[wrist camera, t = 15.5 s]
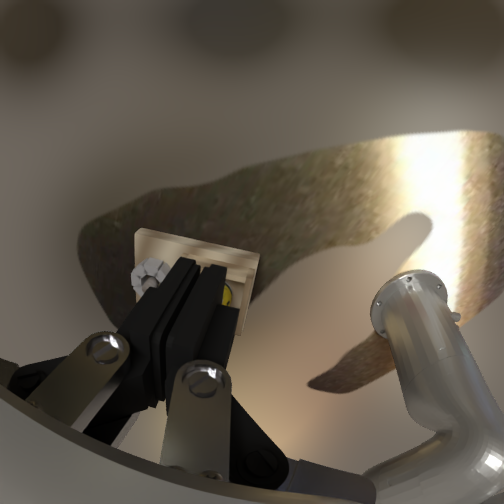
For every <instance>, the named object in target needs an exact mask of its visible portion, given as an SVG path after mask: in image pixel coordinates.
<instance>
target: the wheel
mask: <svg viewBox="0 0 504 504" xmlns="http://www.w3.org/2000/svg"><path fill="white" fill-rule="evenodd" d="M170 270H171V268H170V267H169V265H168V264H167V263H164V264H163V260H159V259H155V258H151V257H150V258H149V259H148V258H146V259H145V260H144V261H142V262H141V263H139V264H138V265H137V266H136V268H135V269H134V270H133V272H132V273H131V278H132V285H133V286H134V287H133V289H134V290H135V291H136V292H137V293H138V294H139V295H140V297H142V295H143V294H144V292H143V291H142V286H143V285H144V283H145V282H146V281H147V275H150V276H154V277H156V279H157V280H158V281H159V282H160V283H162V281H163V280H164V278H165V277H166V275H167V274H168V272H169V271H170ZM158 287H159V286H157V287H156V288H158Z"/></svg>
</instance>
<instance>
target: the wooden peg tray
mask: <svg viewBox="0 0 504 504" xmlns="http://www.w3.org/2000/svg"><path fill="white" fill-rule="evenodd" d="M150 257H151V258H155V259H159V260H163V264H164V263H167V264H168V265H169V267H170V268H172V267H173V265H174V264H175V263H176V261H177V260H178V258H179V257H185V258H190V259H194V260H196V264H197V265H200V266H201V271H200V274H201V272H202V270H203V268H204V267H205V266H206V267H210V265H211V264H215V265H220V266H224V267H227V275H226V282H227V283H228V284H229V285H230V287H231V288H232V292H233V296H232V300H231V303H230V307H235V308H239V309H240V311H239V317H238V322H237V326H236V331H235V335H238V336H240V335H241V331H243V329H244V325H245V320H246V316H247V312H248V307H249V303H250V298H251V294H252V289H253V285H254V280H255V275H256V271H257V266H258V262H259V257H260V254H258V253H253V252H249V251H244V250H240V249H235V248H231V247H226V246H222V245H217V244H213V243H208V242H204V241H199V240H195V239H190V238H185V237H181V236H176V235H172V234H167V233H163V232H158V231H154V230H149V229H145V228H140V229H139V230H138V231H137V232H136V233H135V268H136V266H137V265H138V264H139V263H141V262H142V261H144V260H145V259H146V258H148V259H149V258H150ZM160 284H161V283H160V282H159V281H158V280H157V279H156V277H154V276H150V275H147V281H146V282H145V283H144V285H143V286H142V291H143V292H144V293H145V291H146V290H147V289H148V288H149V287H155V288H156V287H157V286H159V285H160ZM140 298H141V297H140V295H139V294H138V293H137V292H136V301H137V302H138V301H139V300H140Z"/></svg>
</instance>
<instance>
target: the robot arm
mask: <svg viewBox="0 0 504 504" xmlns="http://www.w3.org/2000/svg"><path fill="white" fill-rule="evenodd" d="M200 271H201V266H200V265H197V264H196V260H194V259H190V258H185V257H179V258H178V260H177V261H176V263H175V264H174V265H173V267H172V268H171V270H170V271H169V272H168V274H167V275H166V277H165V278H164V280H163V281H162V283H161V284H160V285H159V287H158V288H155V287H149V288H148V289H147V290H146V291H145V293H144V294H143V295H142V297H141V298H140V300H139V301H138V302H137V304H136V305H135V307H134V308H133V309H132V311H131V312H130V314H129V315H128V316H127V318H126V319H125V321H124V322H123V324H122V325H121V326H120V328H119V329H118V331H117V332H116V333H114V332H111V331H100V332H96V333H94V334H91V335H90V336H88V337H87V338H85V339H84V340H83V342H81V343H80V344H79V345H78V346H77V347H76V348H75V349H74V350H73V351H72V353H70V354H69V355H68V356H64V357H59V358H55V359H51V360H47V361H42V362H38V363H33V364H29V365H25V366H23V367H19V365H18V364H16V363H14V362H10V361H7V360H4V359H1V358H0V504H504V492H503V493H500V494H497V495H495V494H496V493H498V492H499V491H500V490H501V489H503V488H504V414H503V412H502V411H501V409H500V407H499V406H498V404H497V402H496V400H495V399H494V397H493V395H492V393H491V391H490V389H489V387H488V386H487V384H486V382H485V380H484V378H483V376H482V374H481V372H480V370H479V367H478V365H477V363H476V361H475V360H474V358H473V356H472V354H471V352H470V350H469V348H468V346H467V344H466V342H465V340H464V338H463V336H462V335H461V333H460V331H459V326H458V325H456V324H455V322H458V321H459V320H460V318H461V315H460V313H456V312H451V311H450V309H449V307H448V306H447V297H448V295H447V290H446V287H445V285H444V283H443V282H442V280H441V279H440V278H439V277H438V276H437V275H436V274H434V273H432V272H430V271H426V270H411V271H407V272H404V273H401V274H399V275H397V276H395V277H393V278H392V279H391V280H389V281H388V282H386V283H385V284H384V285H383V286H382V287H381V288H380V290H379V291H378V293H377V294H376V296H375V298H374V299H373V302H372V305H371V310H370V316H371V321H372V324H373V327H374V329H375V330H376V332H377V333H378V334H379V335H381V336H382V337H384V338H386V339H388V342H389V345H390V349H391V352H392V355H393V359H394V363H395V366H396V370H397V373H398V377H399V381H400V385H401V389H402V393H403V397H404V400H405V404H406V407H407V411H408V413H409V415H410V416H411V418H412V419H413V420H414V421H415V422H416V423H418V424H419V425H421V426H423V427H425V428H427V429H429V430H432V431H434V432H436V434H435V435H434V436H433V437H432V438H431V439H429V440H427V441H425V442H423V443H422V444H421V445H419V446H417V447H415V448H413V449H411V450H409V451H407V452H405V453H402V454H400V455H398V456H396V457H393V458H391V459H389V460H386V461H384V462H382V463H380V464H377V465H376V466H373V467H372V468H370V469H368V470H367V471H365V472H364V473H363V474H362V475H359V474H354V473H350V472H346V471H342V470H338V469H334V468H330V467H326V466H323V465H319V464H316V463H312V462H309V461H306V460H302V459H300V460H299V461H297V460H293V459H290V458H287V457H286V456H285V455H284V453H283V452H282V451H281V450H280V449H279V448H278V447H277V445H275V443H274V442H273V441H272V440H271V439H270V438H269V437H268V436H267V435H266V434H265V432H264V431H263V430H262V429H261V428H260V427H259V426H258V425H257V423H256V422H255V421H254V420H253V419H252V418H251V417H250V416H249V414H248V413H247V412H246V411H245V410H244V408H243V407H242V406H241V405H240V404H239V403H238V401H237V400H236V399H235V398H234V397H233V395H232V394H231V391H232V389H231V388H232V383H231V377H230V375H229V374H228V372H227V371H226V367H227V363H228V359H229V355H230V352H231V347H232V344H233V340H234V336H235V331H236V326H237V322H238V317H239V311H240V309H239V308H235V307H230V306H226V305H222V300H223V293H224V287H225V281H226V275H227V267H224V266H220V265H215V264H211V265H210V267H206V266H205V267H204V268H203V270H202V272H201V274H200ZM454 321H455V322H454ZM165 398H166V411H167V416H168V418H167V423H166V428H165V435H164V440H163V446H162V451H161V458H160V464H157V463H154V462H151V461H148V460H145V459H142V458H140V457H137V456H134V455H132V454H129V453H126V452H124V451H121V450H119V449H117V448H118V447H119V445H120V444H121V442H122V440H123V439H124V438H125V436H126V435H127V433H128V432H129V430H130V429H131V427H132V426H133V424H134V423H135V421H136V420H137V418H138V416H139V414H140V411H143V410H146V409H147V408H148V406H150V407H153V408H156V406H157V403H158V401H164V400H165ZM493 495H494V496H493Z"/></svg>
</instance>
